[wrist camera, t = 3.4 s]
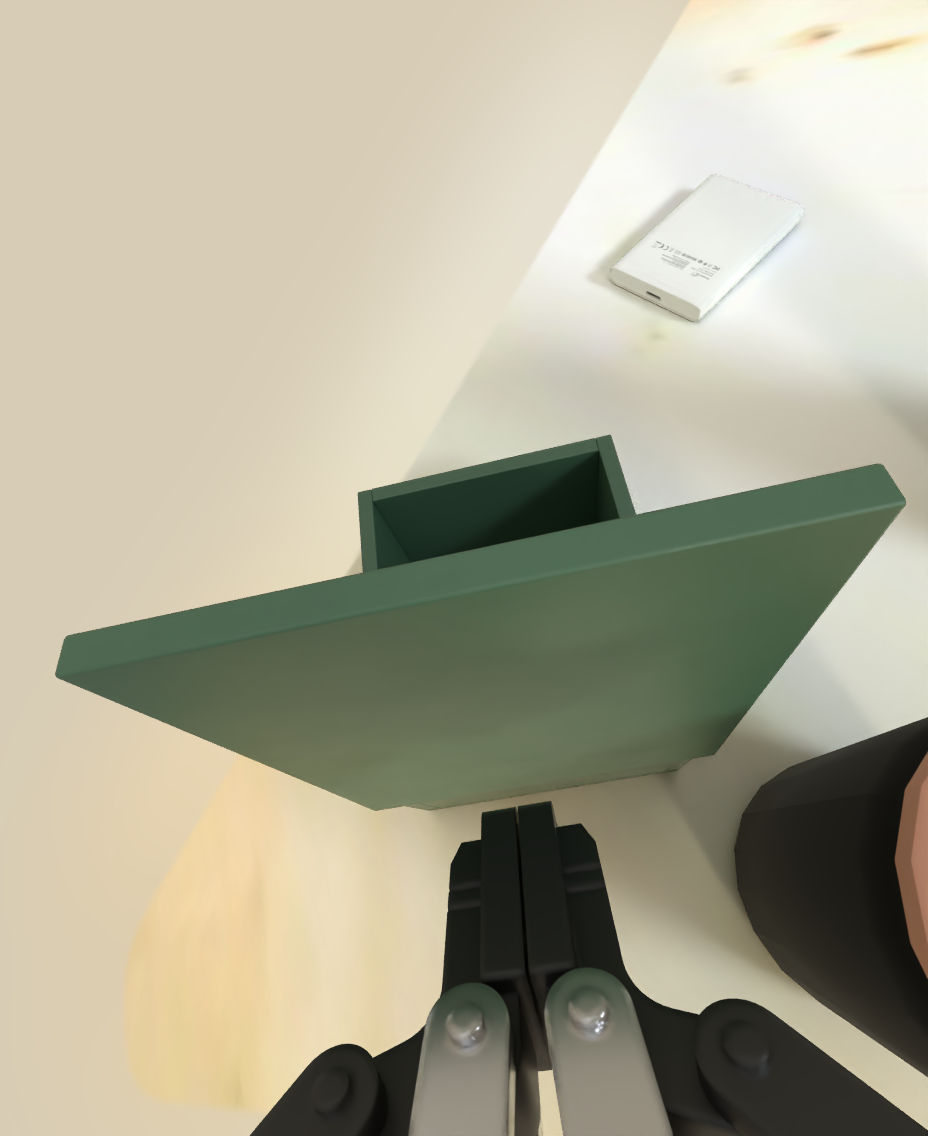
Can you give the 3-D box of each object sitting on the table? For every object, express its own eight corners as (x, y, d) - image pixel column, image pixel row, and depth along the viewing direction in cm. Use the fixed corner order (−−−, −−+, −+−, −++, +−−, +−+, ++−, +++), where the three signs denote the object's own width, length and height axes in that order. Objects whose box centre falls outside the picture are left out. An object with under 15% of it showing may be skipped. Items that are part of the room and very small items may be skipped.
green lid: (63, 634, 10) (51, 677, 10) (883, 459, 9) (910, 502, 8) (373, 790, 24) (374, 811, 24) (708, 734, 23) (715, 755, 22)
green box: (403, 561, 39) (356, 492, 31) (605, 518, 37) (610, 434, 30) (428, 810, 32) (377, 801, 24) (677, 770, 31) (709, 746, 23)
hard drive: (799, 226, 45) (697, 325, 43) (707, 192, 48) (609, 282, 46) (806, 205, 43) (701, 306, 41) (711, 172, 47) (610, 264, 45)
